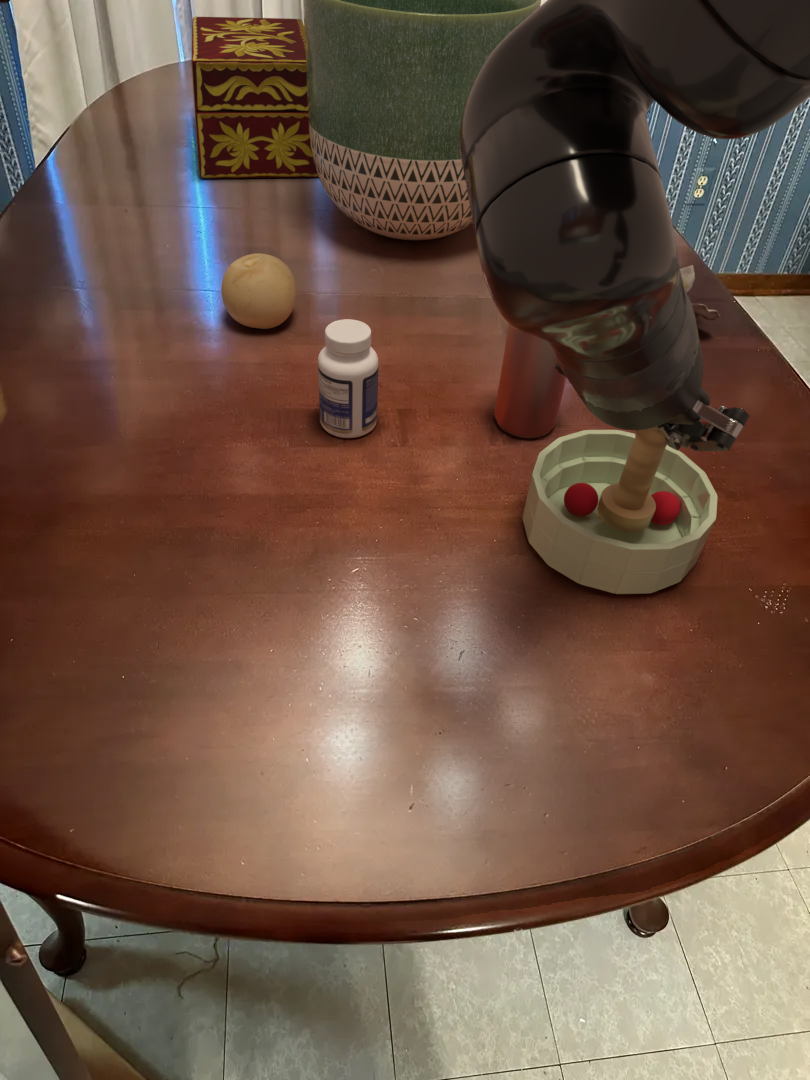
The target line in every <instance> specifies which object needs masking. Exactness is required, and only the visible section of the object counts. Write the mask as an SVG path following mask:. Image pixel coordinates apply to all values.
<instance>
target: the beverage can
mask: <svg viewBox="0 0 810 1080" xmlns="http://www.w3.org/2000/svg"><path fill="white" fill-rule="evenodd" d="M557 363H558V361H557V358H556V355H555V352H554V349H553V348H552V346H551V345H550V343H549V342H548V341H546V340H543V339H541V338H539V337H537V336H534V335H531V334H528V333H525V332H522V331H519V330H517V329H516V328H514V327H513V326H511V325H510V324H509V323H508V327H507V334H506V339H505V346H504V350H503V358H502V364H501V370H500V376H499V381H498V388H497V395H496V400H495V407H494V413H493V414H494V418H495V420H496V423H497V424H498V426H499V428H500V429H502V430H503V432H505V433H507V434H509V435H510V436H513V437H516V438H520V439H530V440H531V439H537V438H541V437H543V436H545V435H547V434H549V433H550V432H551V431H552V430H553V429H554V428H555V426H556V424H557V421H558V416H559V412H560V407H561V403H562V399H563V395H564V391H565V386H566V382H567V378H566V377H565V376H564V375H562V374H560V373H559V372H558V370H557V369H556V368H555V366H556V364H557Z"/></svg>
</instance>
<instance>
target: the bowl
mask: <svg viewBox="0 0 810 1080" xmlns="http://www.w3.org/2000/svg"><path fill="white" fill-rule="evenodd" d="M635 434H636V433H634V432H629V431H626V430H622V429H583V430H579V431H577V432H573V433H569V434H566V435H563V436H559V437H557V438H556V439H555V440H553V441H552V442H551V443H550V444H549V445H547V446H546V447H545V448H543V449H542V450H541V451H540V452H539V453H538V455H537V458H536V461H535V463H534V467H533V470H532V472H531V477H530V481H529V485H528V491H527V494H526V495H527V496H526V500H525V503H524V510H523V514H522V522H523V527H524V529H525V533H526V537H527V541H528V543H529V545H530V546H531V547H532V548H533V549H534V551H535V552H536V553H537V554H538V555H539V557H540V558H541V559H542V560H543V561H544V563H546V565H547V566H548V567H550V568H551V569H553V570H555V571H556V572H558V573H560V574H561V575H563V576H565V577H566V578H568V579H570V580H571V581H573V582H574V583H577V584H579V585H580V586H584V587H589V588H593V589H595V590H599V591H604V592H607V593H610V594H616V595H636V594H637V595H639V594H640V595H641V594H643V595H644V594H653V593H656V592H658V591H662V590H663V589H666V588H669V587H671V586H673V585H677V584H679V583H680V582H682V581H683V579H684V578H685V577H686V576H687V575H688V573H689V572H691V570H692V569H693V567H694V566H695V565H696V564H697V562H698V560H699V558H700V555H701V554H702V551H703V549H704V547H705V545H706V542H707V540H708V538H709V536H710V534H711V531H712V529H713V527H714V525H715V523H716V520H717V513H718V512H717V511H718V499H719V496H718V494H717V492H716V489H715V488H714V486H713V484H712V483H711V481H710V478H709V477H708V475H707V473H706V472H705V471H704V470H703V468H701V467H699V466H698V465H697V464H696V463H695V462H694V461H693V460H692V459H691V458H689V457H688V456H687V455H686V454H685V453H684V452H682V451H680V450H675V449H673V448H671V447H669V446H668V444H667V445H666V448H665V451H664V453H663V456H662V458H661V461H660V464H659V466H658V469H657V471H656V474H655V477H654V479H653V482H652V484H651V487H650V490H649V492H648V493H649V494H650V495H652V494H654V493H656V492H659V491H666V492H670V493H672V494H673V495H675V496H676V497H677V499H678V500H679V503H680V513H679V515H678V517H677V518H676V519H675V520H674V521H673V522H672V523H669V524H666V525H658V524H655V523H653V522H652V521H651V523H650V525H649V526H648V527H647V528H646V529H644V530H642V531H639V532H624V531H620V530H617V529H614V528H612V527H610V526H609V525H607V524H606V523H605V522H603V521H602V519H601V518H600V517H599V515H598V512H597V507H596V509H595V510H594V511H593V512H592V513H591V514H589V515H586V516H576V515H573V514H571V513H570V512H569V511H568V510H567V509H566V507H565V504H564V495H565V493H566V491H567V489H568V488H569V487H570V486H572V485H574V484H576V483H587V484H589V485H591V486H592V487H593V488H594V489H595V490H596V492H597V494H598V503H599V500H600V497H601V494H602V491H603V490H604V489H605V488H606V487H608V486H609V485H612V484H617V483H619V480H620V478H621V475H622V472H623V469H624V466H625V463H626V460H627V457H628V454H629V452H630V449H631V446H632V443H633V440H634V437H635ZM597 506H598V505H597Z"/></svg>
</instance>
